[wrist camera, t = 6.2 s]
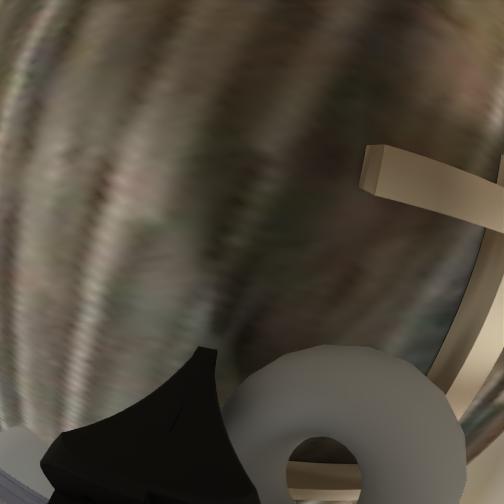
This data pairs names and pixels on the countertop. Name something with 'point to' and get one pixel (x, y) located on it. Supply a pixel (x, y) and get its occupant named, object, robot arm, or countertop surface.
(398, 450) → the white rubber ring
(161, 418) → the robot arm
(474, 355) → the drawer pull handle
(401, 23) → the countertop surface
